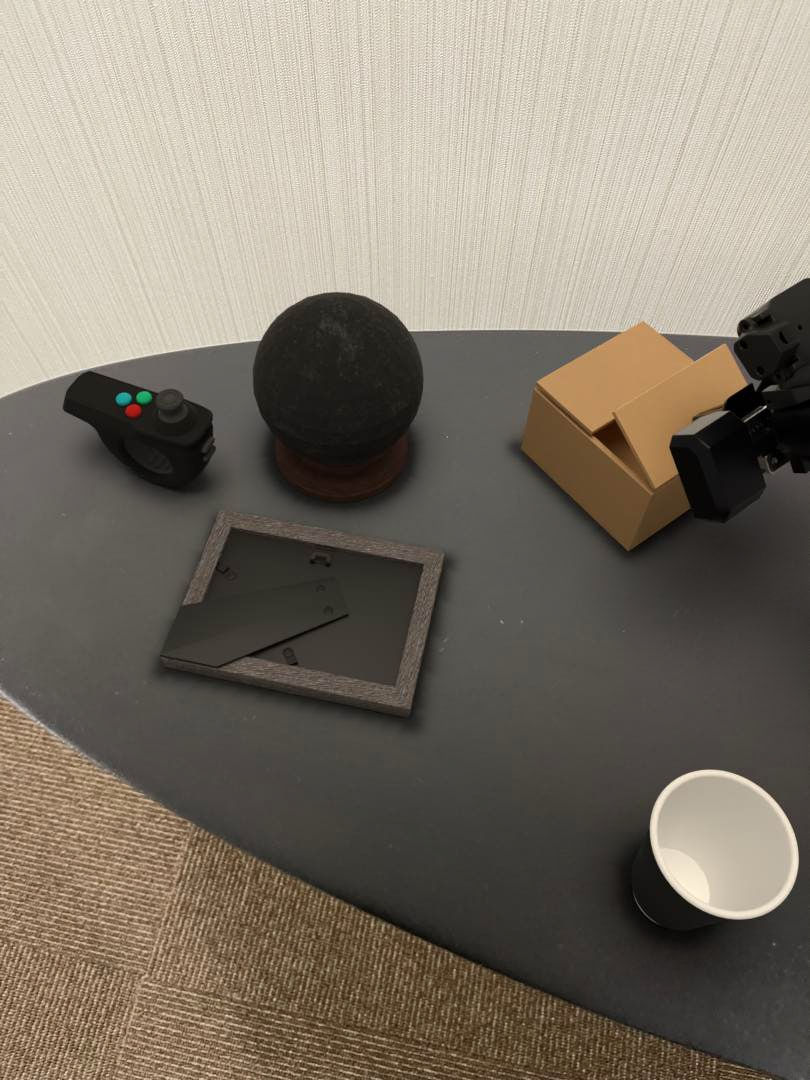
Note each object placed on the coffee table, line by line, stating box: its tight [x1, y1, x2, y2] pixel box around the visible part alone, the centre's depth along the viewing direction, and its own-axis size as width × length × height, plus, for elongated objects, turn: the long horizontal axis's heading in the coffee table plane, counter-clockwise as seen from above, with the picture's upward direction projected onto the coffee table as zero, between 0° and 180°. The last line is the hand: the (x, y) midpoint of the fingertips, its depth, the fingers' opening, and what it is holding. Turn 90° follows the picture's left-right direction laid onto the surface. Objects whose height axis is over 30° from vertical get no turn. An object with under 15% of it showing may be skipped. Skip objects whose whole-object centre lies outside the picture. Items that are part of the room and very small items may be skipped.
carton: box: [520, 320, 695, 552], centre depth 74 cm, size 13×12×8 cm
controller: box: [62, 370, 217, 487], centre depth 71 cm, size 4×12×10 cm, turn 67°
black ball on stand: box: [252, 291, 424, 504], centre depth 71 cm, size 13×13×15 cm
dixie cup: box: [630, 769, 800, 932], centre depth 53 cm, size 8×8×11 cm
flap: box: [612, 343, 748, 489], centre depth 67 cm, size 6×12×1 cm
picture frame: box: [159, 508, 446, 719], centre depth 67 cm, size 13×2×18 cm
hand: (697, 421), depth 67 cm, fingers closed
